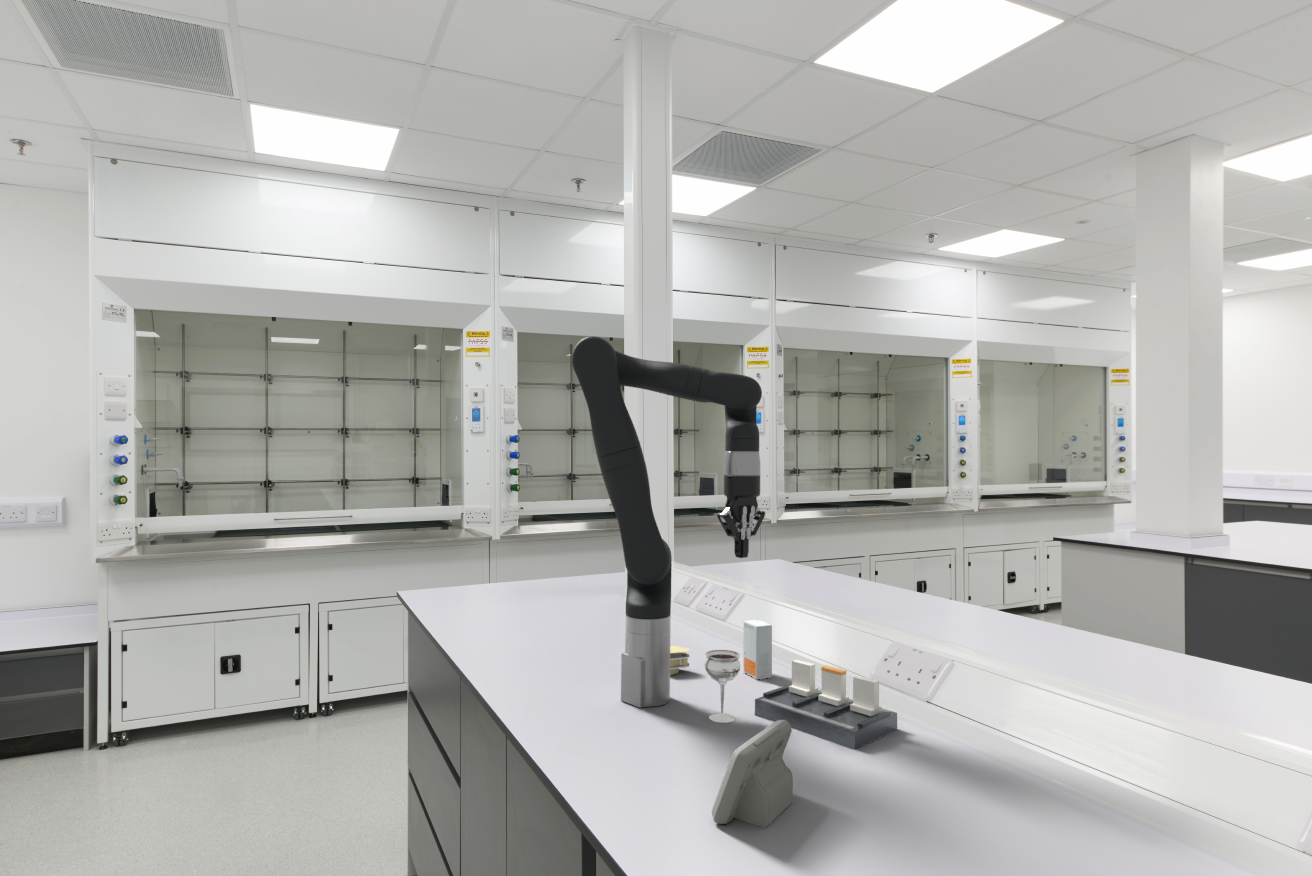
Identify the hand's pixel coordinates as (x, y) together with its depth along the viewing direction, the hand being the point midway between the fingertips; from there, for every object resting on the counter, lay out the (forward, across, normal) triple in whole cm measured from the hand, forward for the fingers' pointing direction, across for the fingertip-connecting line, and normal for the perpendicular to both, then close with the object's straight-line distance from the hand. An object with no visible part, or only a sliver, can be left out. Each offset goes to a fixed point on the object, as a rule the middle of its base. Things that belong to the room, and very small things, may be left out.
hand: (741, 557), depth 149 cm
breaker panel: (+29, -2, +19) cm, 35 cm away
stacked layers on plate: (+30, -2, -22) cm, 37 cm away
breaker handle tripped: (+26, -5, +19) cm, 32 cm away
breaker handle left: (+26, -5, +12) cm, 29 cm away
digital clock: (+29, +34, +32) cm, 55 cm away
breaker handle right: (+26, -5, +26) cm, 37 cm away
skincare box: (+29, -15, -8) cm, 34 cm away
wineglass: (+29, +11, +5) cm, 32 cm away
